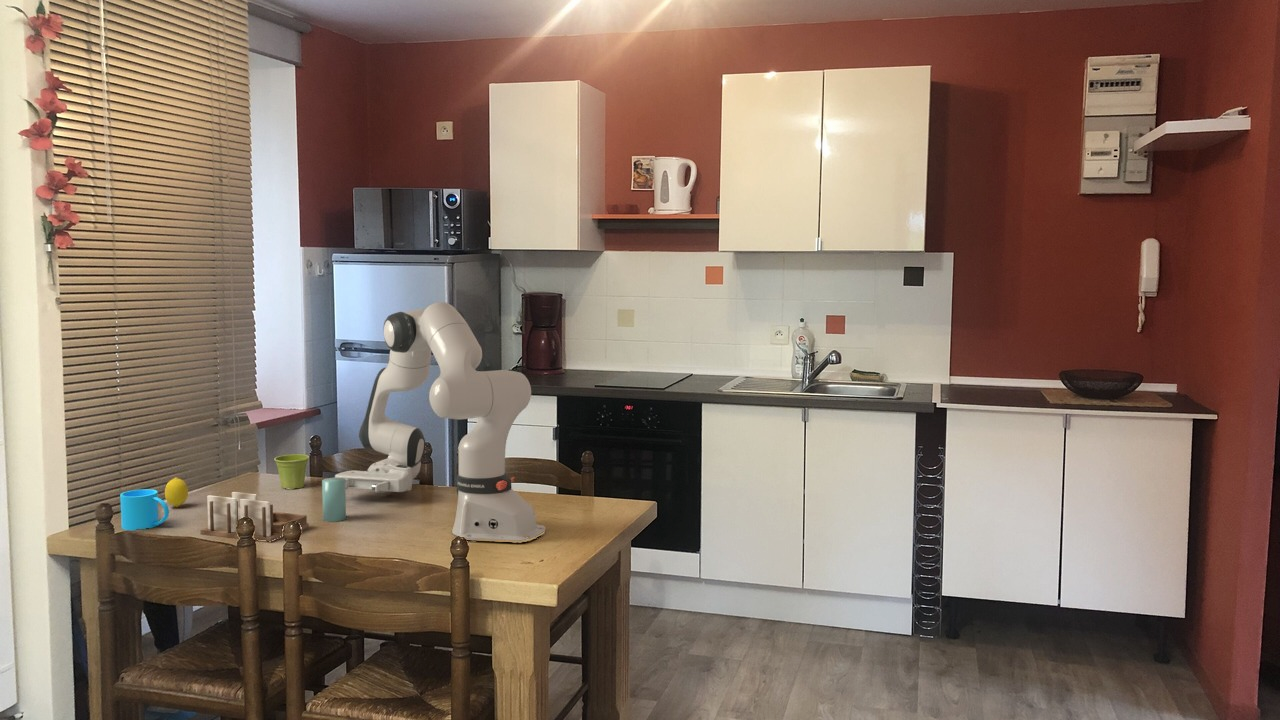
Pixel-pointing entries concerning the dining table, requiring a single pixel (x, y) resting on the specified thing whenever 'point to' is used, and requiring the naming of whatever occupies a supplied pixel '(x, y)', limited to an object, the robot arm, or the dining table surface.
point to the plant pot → (292, 470)
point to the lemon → (176, 492)
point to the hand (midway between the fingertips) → (357, 487)
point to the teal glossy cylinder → (334, 499)
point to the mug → (141, 509)
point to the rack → (246, 505)
